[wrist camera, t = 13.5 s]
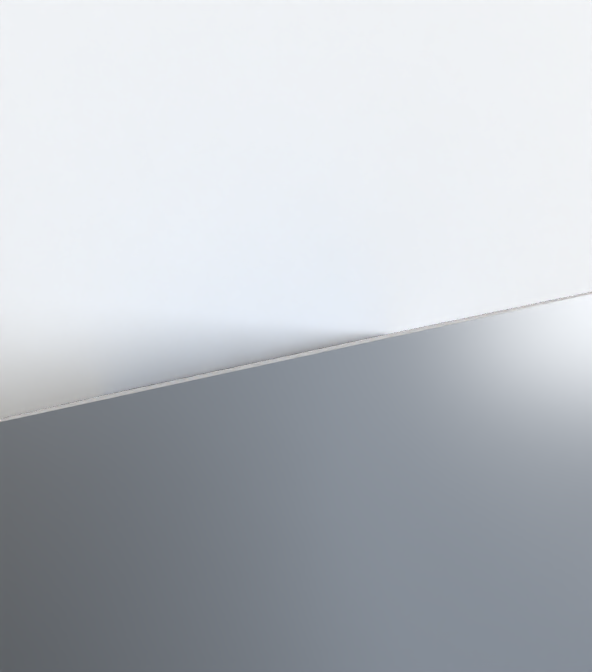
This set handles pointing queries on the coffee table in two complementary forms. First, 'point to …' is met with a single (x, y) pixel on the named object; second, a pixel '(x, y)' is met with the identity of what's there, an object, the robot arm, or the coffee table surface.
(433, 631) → the slate cube crate
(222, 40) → the coffee table surface
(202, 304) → the coffee table surface
